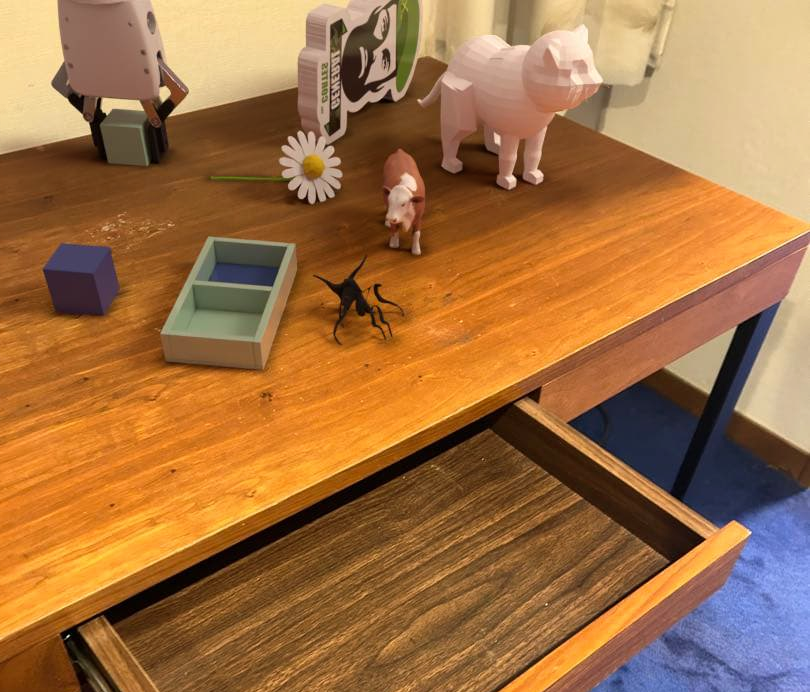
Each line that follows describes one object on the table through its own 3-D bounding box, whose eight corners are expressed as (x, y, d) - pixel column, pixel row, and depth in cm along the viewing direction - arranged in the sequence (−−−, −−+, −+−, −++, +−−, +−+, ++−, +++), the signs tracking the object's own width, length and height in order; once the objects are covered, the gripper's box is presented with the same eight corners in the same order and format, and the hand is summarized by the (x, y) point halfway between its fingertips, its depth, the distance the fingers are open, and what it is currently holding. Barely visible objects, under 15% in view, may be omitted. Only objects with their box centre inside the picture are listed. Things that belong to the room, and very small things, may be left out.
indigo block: (55, 314, 79) (41, 268, 75) (73, 287, 82) (60, 242, 78) (104, 318, 79) (93, 273, 75) (120, 291, 82) (110, 246, 78)
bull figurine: (379, 274, 85) (380, 195, 79) (382, 209, 94) (384, 133, 88) (423, 275, 85) (427, 196, 79) (422, 210, 94) (426, 135, 88)
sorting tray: (166, 363, 74) (159, 333, 72) (212, 265, 85) (208, 236, 83) (263, 372, 74) (260, 342, 72) (297, 272, 85) (295, 243, 83)
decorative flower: (200, 121, 91) (341, 124, 92) (210, 144, 97) (343, 147, 98) (201, 196, 91) (341, 199, 92) (211, 214, 98) (343, 216, 98)
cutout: (310, 28, 93) (423, -45, 106) (289, 23, 93) (404, -49, 107) (321, 163, 105) (422, 82, 118) (302, 157, 105) (404, 78, 119)
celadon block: (108, 165, 99) (99, 124, 96) (121, 148, 102) (112, 108, 99) (147, 168, 99) (139, 127, 95) (159, 151, 102) (151, 111, 98)
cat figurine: (385, 149, 104) (388, -7, 92) (442, 125, 110) (452, -25, 97) (549, 223, 93) (578, 57, 81) (603, 193, 99) (638, 33, 86)
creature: (418, 337, 80) (367, 284, 83) (430, 293, 76) (375, 239, 78) (352, 368, 77) (300, 312, 79) (360, 324, 72) (305, 266, 75)
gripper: (191, -29, 89) (213, 147, 102) (29, -40, 90) (73, 136, 103) (171, -6, 84) (197, 175, 97) (0, -18, 85) (49, 163, 98)
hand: (133, 153), depth 100 cm, fingers open, 5 cm apart
